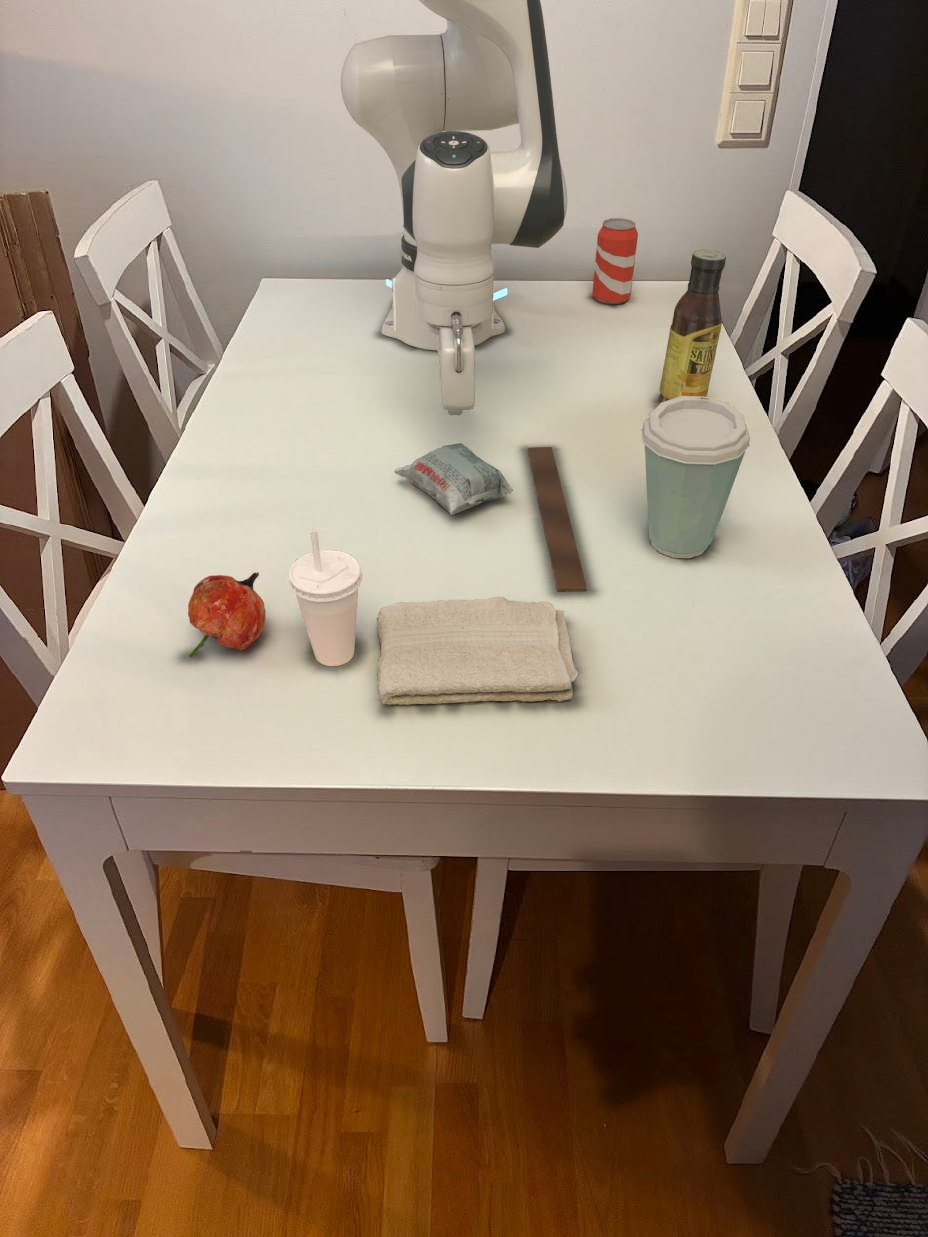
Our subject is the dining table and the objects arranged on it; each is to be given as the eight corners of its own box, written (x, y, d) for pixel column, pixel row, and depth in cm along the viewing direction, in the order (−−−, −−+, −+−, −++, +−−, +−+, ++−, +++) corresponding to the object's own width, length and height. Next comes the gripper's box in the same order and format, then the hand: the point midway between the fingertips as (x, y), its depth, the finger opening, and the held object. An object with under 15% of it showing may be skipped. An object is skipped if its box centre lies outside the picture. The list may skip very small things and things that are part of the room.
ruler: (527, 450, 116) (527, 447, 115) (551, 450, 116) (551, 446, 115) (556, 591, 94) (557, 588, 94) (586, 590, 94) (586, 587, 94)
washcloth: (581, 703, 82) (584, 678, 80) (377, 713, 81) (375, 687, 79) (561, 617, 91) (563, 592, 89) (377, 624, 90) (375, 599, 88)
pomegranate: (226, 693, 86) (299, 616, 85) (163, 657, 81) (239, 575, 80) (209, 651, 92) (278, 578, 91) (149, 614, 87) (221, 537, 86)
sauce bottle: (684, 421, 121) (711, 268, 109) (647, 404, 125) (669, 253, 112) (715, 405, 125) (745, 255, 112) (678, 389, 128) (703, 242, 115)
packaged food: (451, 532, 102) (451, 493, 99) (393, 484, 109) (392, 447, 106) (514, 507, 106) (516, 469, 103) (454, 463, 113) (454, 427, 110)
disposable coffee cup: (718, 580, 96) (747, 452, 86) (615, 558, 99) (632, 432, 89) (732, 525, 103) (760, 402, 94) (637, 506, 106) (654, 385, 96)
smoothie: (292, 640, 88) (273, 517, 79) (356, 623, 90) (345, 501, 81) (311, 684, 84) (293, 559, 75) (378, 665, 86) (368, 541, 77)
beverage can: (620, 309, 150) (629, 232, 142) (585, 300, 152) (591, 224, 144) (636, 297, 153) (646, 221, 146) (601, 289, 156) (609, 214, 148)
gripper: (489, 334, 96) (487, 452, 105) (476, 265, 112) (475, 373, 121) (428, 335, 96) (431, 453, 105) (423, 266, 112) (426, 374, 121)
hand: (454, 409), depth 113 cm, fingers closed
